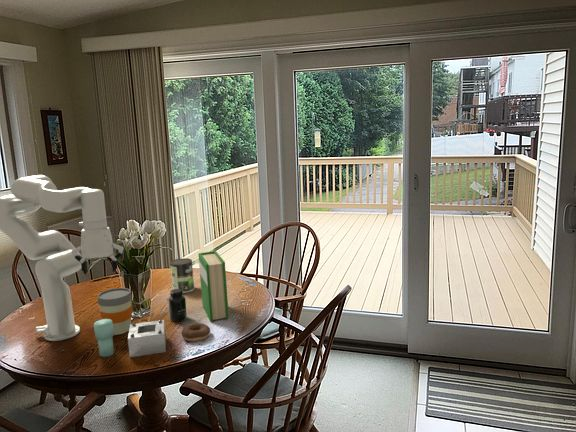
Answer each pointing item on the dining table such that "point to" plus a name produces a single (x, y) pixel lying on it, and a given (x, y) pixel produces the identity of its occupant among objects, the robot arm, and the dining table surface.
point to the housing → (147, 338)
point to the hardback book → (213, 285)
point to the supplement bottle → (177, 306)
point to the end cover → (104, 337)
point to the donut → (195, 332)
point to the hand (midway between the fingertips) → (100, 271)
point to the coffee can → (182, 275)
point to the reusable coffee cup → (116, 308)
